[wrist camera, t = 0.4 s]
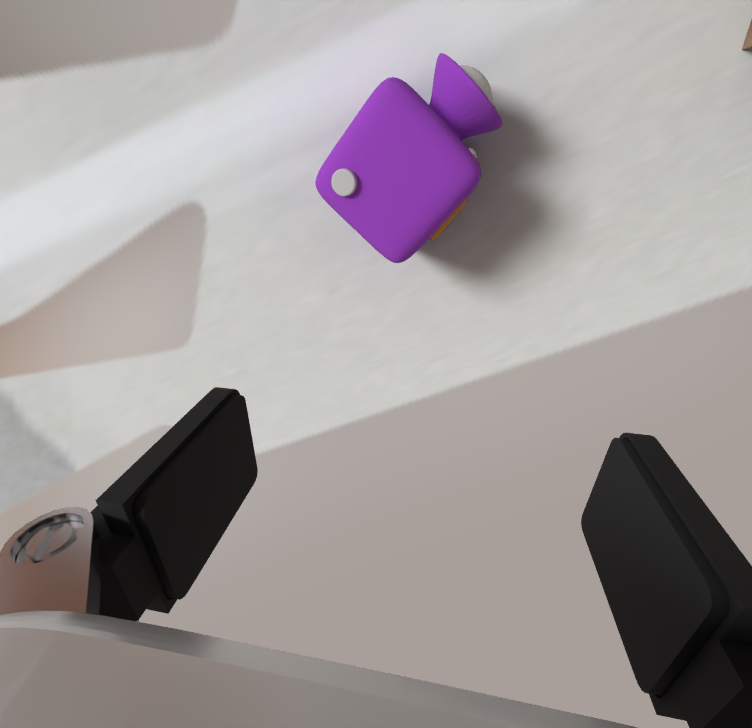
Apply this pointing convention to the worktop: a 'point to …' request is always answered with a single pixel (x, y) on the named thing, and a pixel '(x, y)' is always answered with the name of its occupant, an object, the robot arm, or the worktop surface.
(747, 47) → the cabinet
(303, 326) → the worktop surface
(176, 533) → the robot arm
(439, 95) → the toy camera
